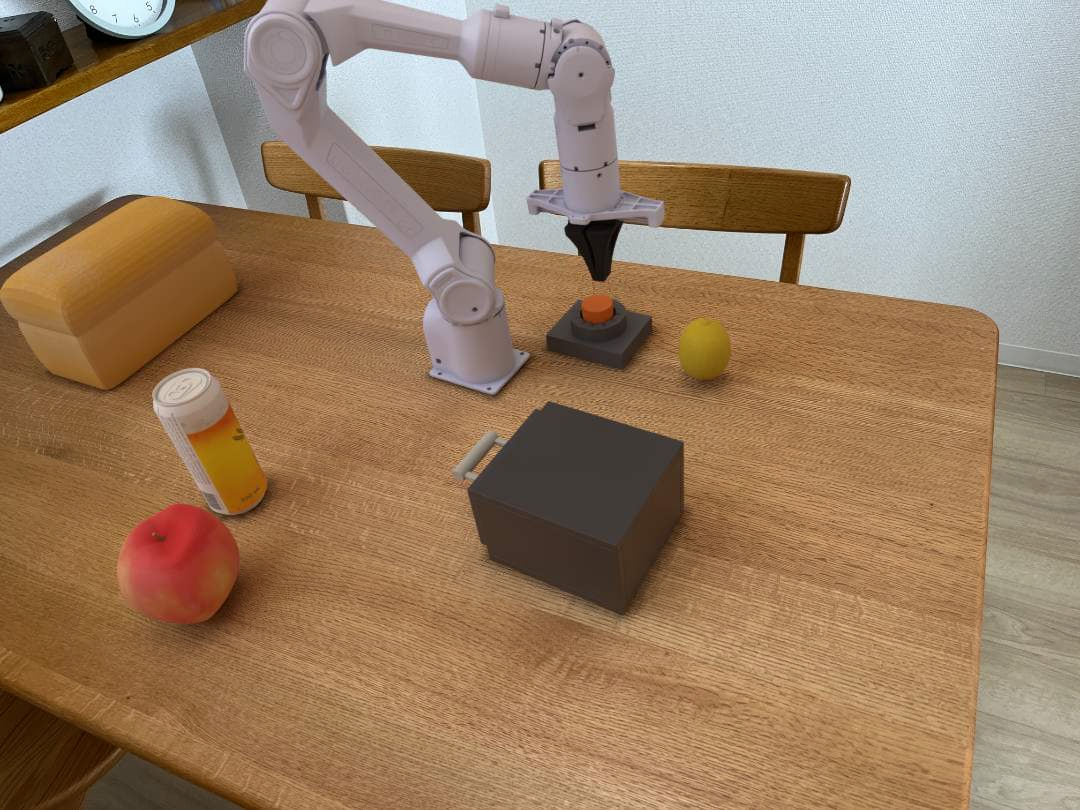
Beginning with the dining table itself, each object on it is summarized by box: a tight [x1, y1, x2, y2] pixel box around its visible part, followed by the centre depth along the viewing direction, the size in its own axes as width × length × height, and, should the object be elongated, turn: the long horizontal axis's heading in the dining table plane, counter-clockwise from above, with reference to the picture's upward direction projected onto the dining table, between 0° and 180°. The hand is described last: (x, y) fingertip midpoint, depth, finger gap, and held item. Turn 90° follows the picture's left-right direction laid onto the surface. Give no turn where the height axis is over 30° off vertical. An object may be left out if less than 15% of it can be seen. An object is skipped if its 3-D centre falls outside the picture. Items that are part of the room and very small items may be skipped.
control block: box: [545, 298, 653, 370], centre depth 95 cm, size 10×8×4 cm
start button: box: [581, 294, 613, 324], centre depth 94 cm, size 4×4×2 cm
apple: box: [116, 503, 240, 625], centre depth 70 cm, size 10×10×10 cm
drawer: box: [450, 408, 541, 546], centre depth 73 cm, size 17×11×7 cm
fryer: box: [473, 400, 685, 616], centre depth 71 cm, size 14×13×9 cm
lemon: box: [677, 317, 732, 381], centre depth 86 cm, size 6×6×8 cm
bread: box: [0, 195, 239, 391], centre depth 106 cm, size 24×13×15 cm, turn 153°
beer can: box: [151, 367, 268, 516], centre depth 79 cm, size 6×6×15 cm
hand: (601, 276), depth 88 cm, fingers closed
